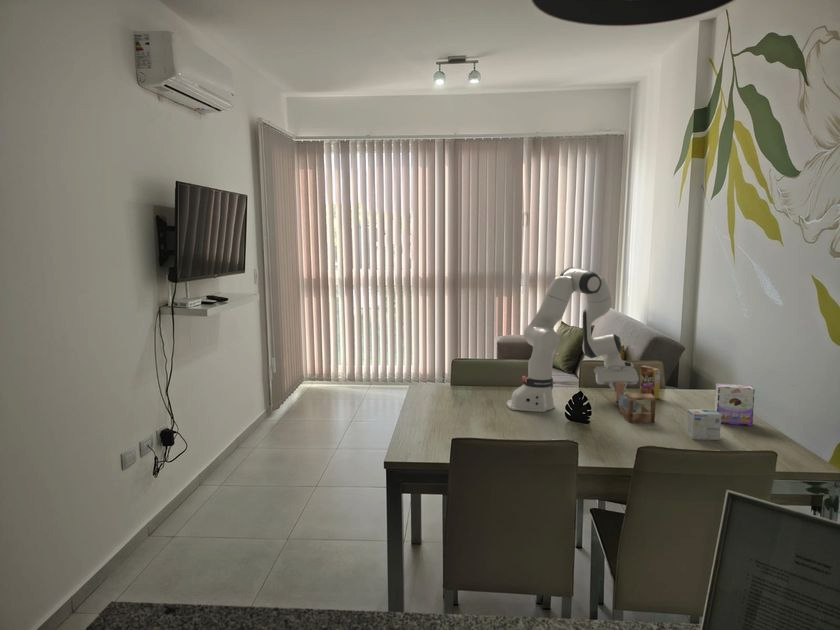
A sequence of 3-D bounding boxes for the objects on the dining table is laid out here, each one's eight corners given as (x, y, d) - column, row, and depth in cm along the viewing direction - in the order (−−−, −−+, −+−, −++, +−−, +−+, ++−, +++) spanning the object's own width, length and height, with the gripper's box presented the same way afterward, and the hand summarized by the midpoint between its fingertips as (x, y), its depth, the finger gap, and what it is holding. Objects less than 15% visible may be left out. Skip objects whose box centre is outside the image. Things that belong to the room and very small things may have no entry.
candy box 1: (638, 395, 275) (640, 365, 273) (644, 394, 277) (646, 365, 275) (653, 399, 268) (655, 369, 266) (659, 398, 270) (661, 368, 268)
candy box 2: (749, 422, 233) (751, 385, 231) (752, 426, 228) (755, 388, 226) (713, 418, 238) (715, 382, 236) (715, 423, 232) (718, 386, 230)
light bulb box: (713, 434, 219) (714, 408, 217) (720, 440, 212) (722, 414, 211) (685, 433, 220) (687, 408, 218) (692, 439, 213) (693, 413, 212)
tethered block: (622, 410, 250) (623, 392, 249) (611, 399, 266) (612, 381, 265) (635, 411, 250) (636, 392, 248) (623, 399, 266) (624, 382, 265)
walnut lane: (628, 422, 234) (629, 397, 232) (619, 413, 246) (620, 389, 244) (654, 422, 233) (655, 397, 232) (644, 413, 245) (645, 390, 244)
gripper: (594, 363, 269) (599, 387, 261) (636, 363, 269) (642, 387, 260) (591, 370, 274) (596, 394, 266) (632, 370, 274) (638, 394, 265)
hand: (619, 391), depth 263 cm, fingers closed on tethered block, 3 cm apart
